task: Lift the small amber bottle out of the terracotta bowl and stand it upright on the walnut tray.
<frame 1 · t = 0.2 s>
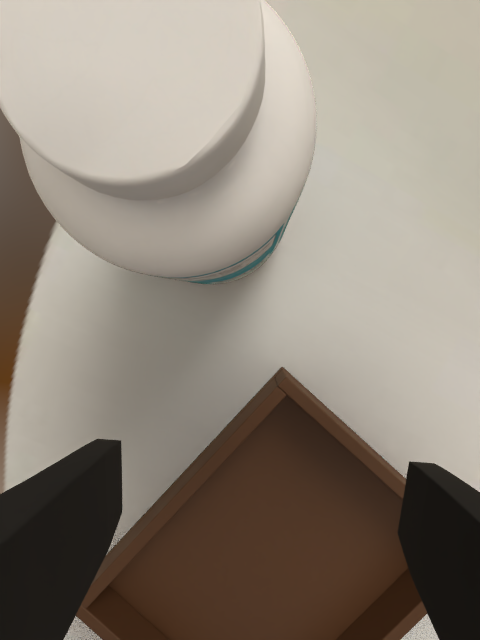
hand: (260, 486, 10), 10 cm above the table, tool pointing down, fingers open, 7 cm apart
tray: (269, 548, 21), on the table
pill bottle: (212, 213, 20), on the table
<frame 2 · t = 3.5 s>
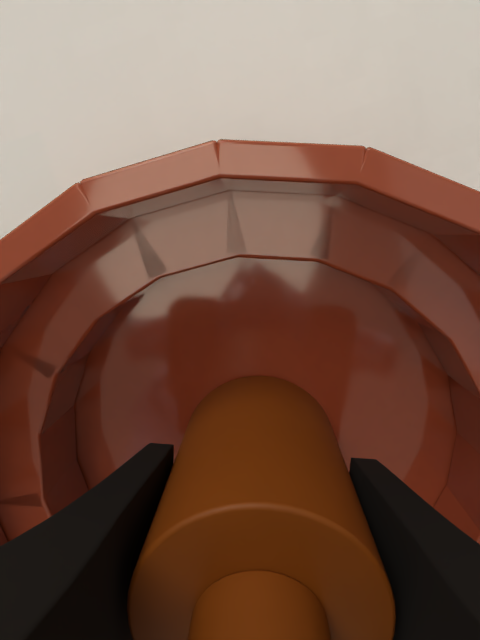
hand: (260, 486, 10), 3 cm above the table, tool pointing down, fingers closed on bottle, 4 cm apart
bowl: (260, 433, 12), on the table
bottle: (259, 444, 12), point 1 cm above the table, touching bowl, gripper
when the fingers open (3 cm above the table, at t = 9.2 s): bottle stays where it is, resting on tray.
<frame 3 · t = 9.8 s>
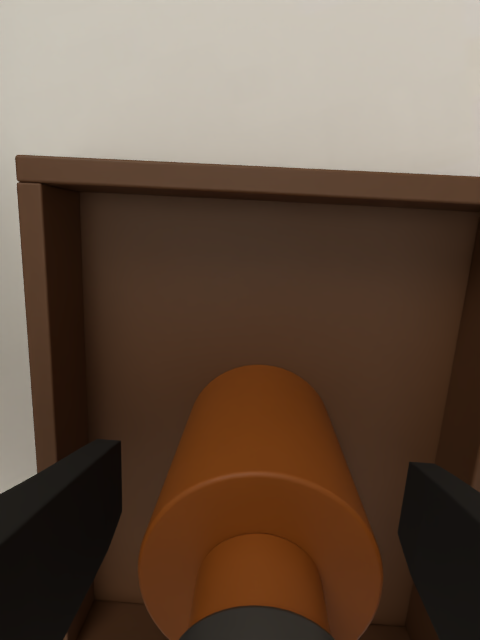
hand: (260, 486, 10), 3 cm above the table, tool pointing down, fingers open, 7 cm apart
tray: (260, 423, 13), on the table
bottle: (258, 430, 12), point 1 cm above the table, touching tray
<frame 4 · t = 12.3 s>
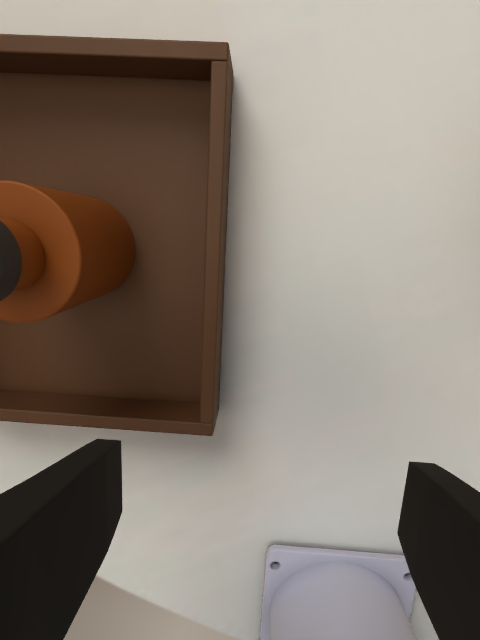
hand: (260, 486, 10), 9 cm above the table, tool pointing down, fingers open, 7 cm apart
tray: (94, 249, 18), on the table
bottle: (87, 247, 17), point 1 cm above the table, touching tray
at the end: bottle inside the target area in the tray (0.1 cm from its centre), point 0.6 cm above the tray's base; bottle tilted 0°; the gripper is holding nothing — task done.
